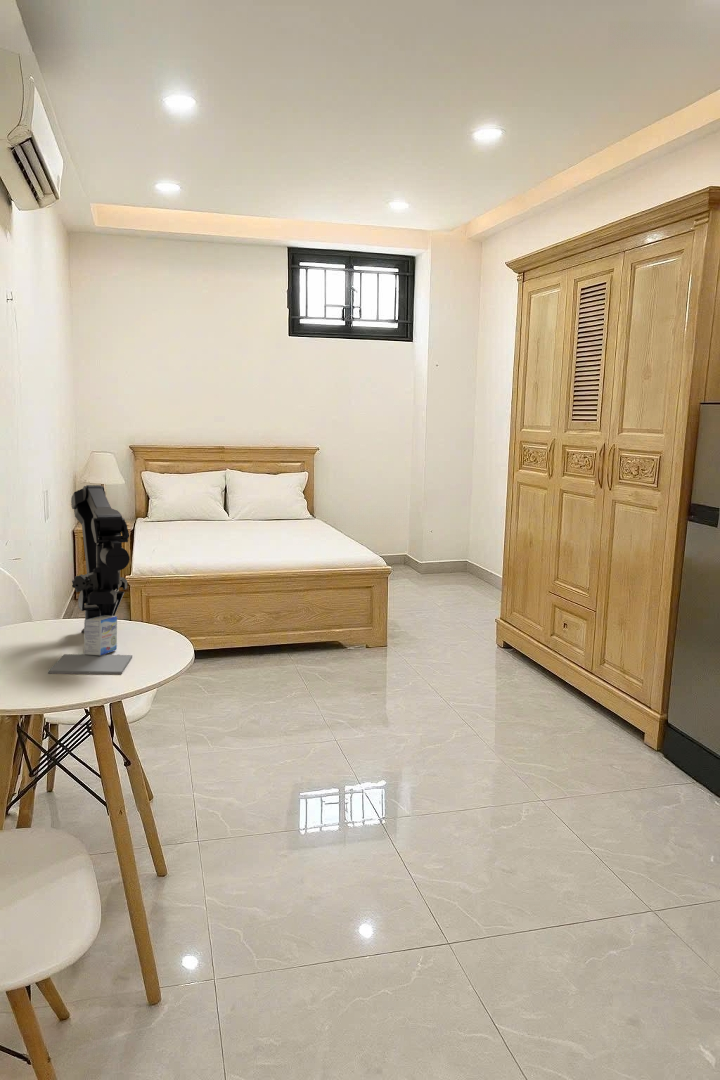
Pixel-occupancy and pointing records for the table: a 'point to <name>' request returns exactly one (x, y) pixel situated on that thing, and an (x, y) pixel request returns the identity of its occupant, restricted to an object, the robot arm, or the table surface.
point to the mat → (90, 664)
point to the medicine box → (100, 635)
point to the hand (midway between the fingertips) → (108, 623)
